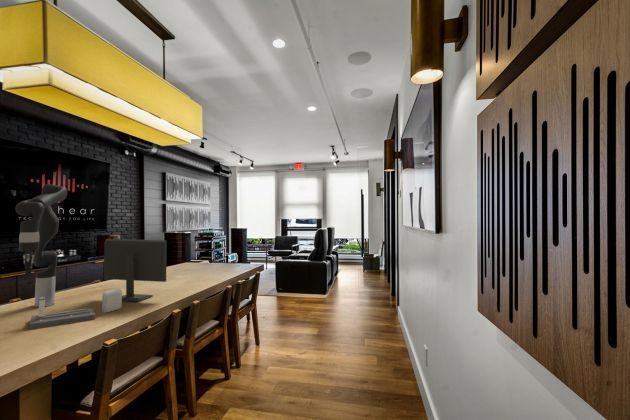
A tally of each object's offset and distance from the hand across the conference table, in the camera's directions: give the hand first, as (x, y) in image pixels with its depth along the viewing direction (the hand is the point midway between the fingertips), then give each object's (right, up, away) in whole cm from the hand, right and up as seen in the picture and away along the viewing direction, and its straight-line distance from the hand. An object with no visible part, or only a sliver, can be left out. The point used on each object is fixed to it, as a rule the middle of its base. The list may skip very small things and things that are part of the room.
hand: (28, 275), depth 155 cm
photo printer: (+25, -27, +26) cm, 45 cm away
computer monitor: (+22, -27, +52) cm, 63 cm away
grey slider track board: (+12, -25, +8) cm, 29 cm away
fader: (+5, -22, +2) cm, 23 cm away
